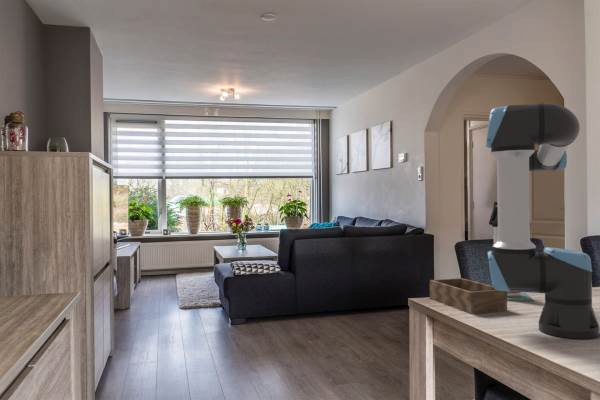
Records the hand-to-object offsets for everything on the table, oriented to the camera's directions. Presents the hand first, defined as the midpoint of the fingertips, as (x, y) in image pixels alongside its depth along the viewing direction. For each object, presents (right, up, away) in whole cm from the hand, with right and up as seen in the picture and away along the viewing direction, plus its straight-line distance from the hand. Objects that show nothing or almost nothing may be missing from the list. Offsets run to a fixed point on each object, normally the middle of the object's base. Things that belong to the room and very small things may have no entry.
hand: (508, 244), depth 184 cm
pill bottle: (0, -20, 0) cm, 20 cm away
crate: (-20, -21, -11) cm, 31 cm away
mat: (0, -20, 0) cm, 20 cm away
